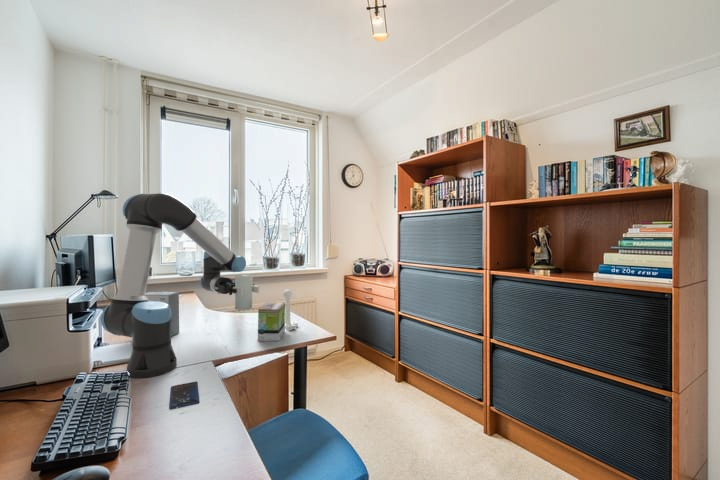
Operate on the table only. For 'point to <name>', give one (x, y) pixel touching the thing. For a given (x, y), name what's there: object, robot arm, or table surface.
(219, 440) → the table surface
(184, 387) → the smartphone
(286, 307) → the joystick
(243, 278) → the canister
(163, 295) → the hard drive box
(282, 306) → the tea box
